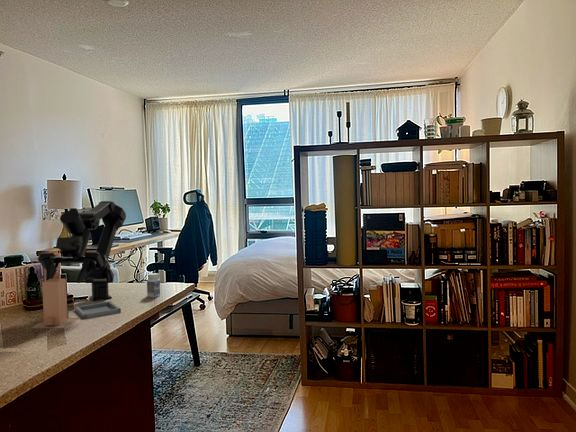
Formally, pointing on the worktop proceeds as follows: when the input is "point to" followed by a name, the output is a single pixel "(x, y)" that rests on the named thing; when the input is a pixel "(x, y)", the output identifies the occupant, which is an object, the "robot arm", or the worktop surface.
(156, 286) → the pill bottle
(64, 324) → the peg on square base
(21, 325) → the worktop surface
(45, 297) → the tan rectangular prism
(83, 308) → the tray
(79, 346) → the worktop surface
